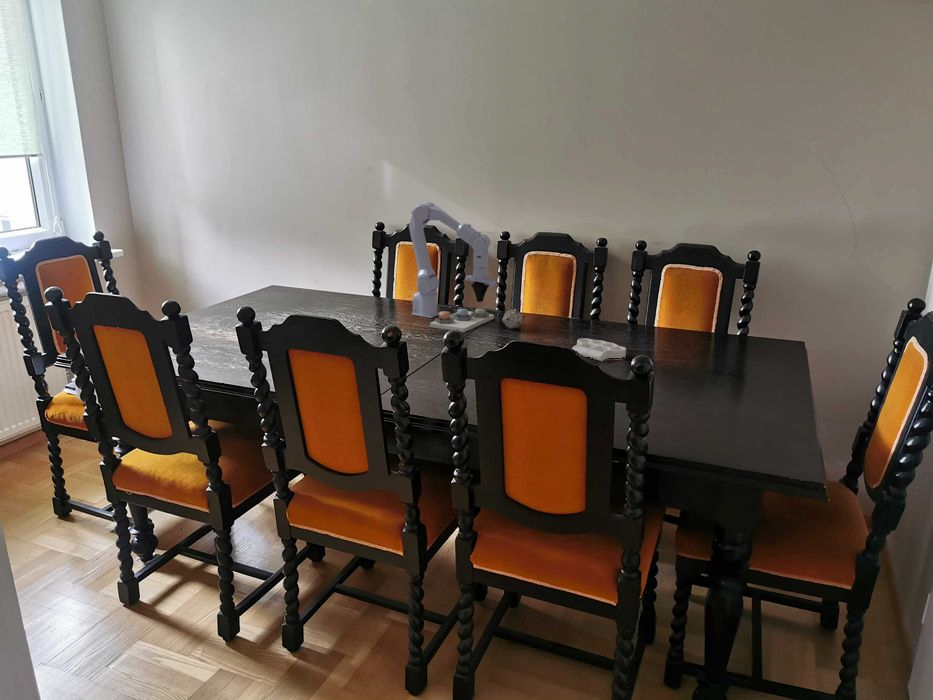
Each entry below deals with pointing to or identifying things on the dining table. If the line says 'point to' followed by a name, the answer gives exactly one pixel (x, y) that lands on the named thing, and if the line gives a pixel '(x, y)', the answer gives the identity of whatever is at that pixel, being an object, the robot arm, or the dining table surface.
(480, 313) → the button green
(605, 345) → the grey hollowed tray
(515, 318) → the game die
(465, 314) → the button blue
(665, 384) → the dining table surface
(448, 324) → the button panel
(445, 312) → the button terracotta
